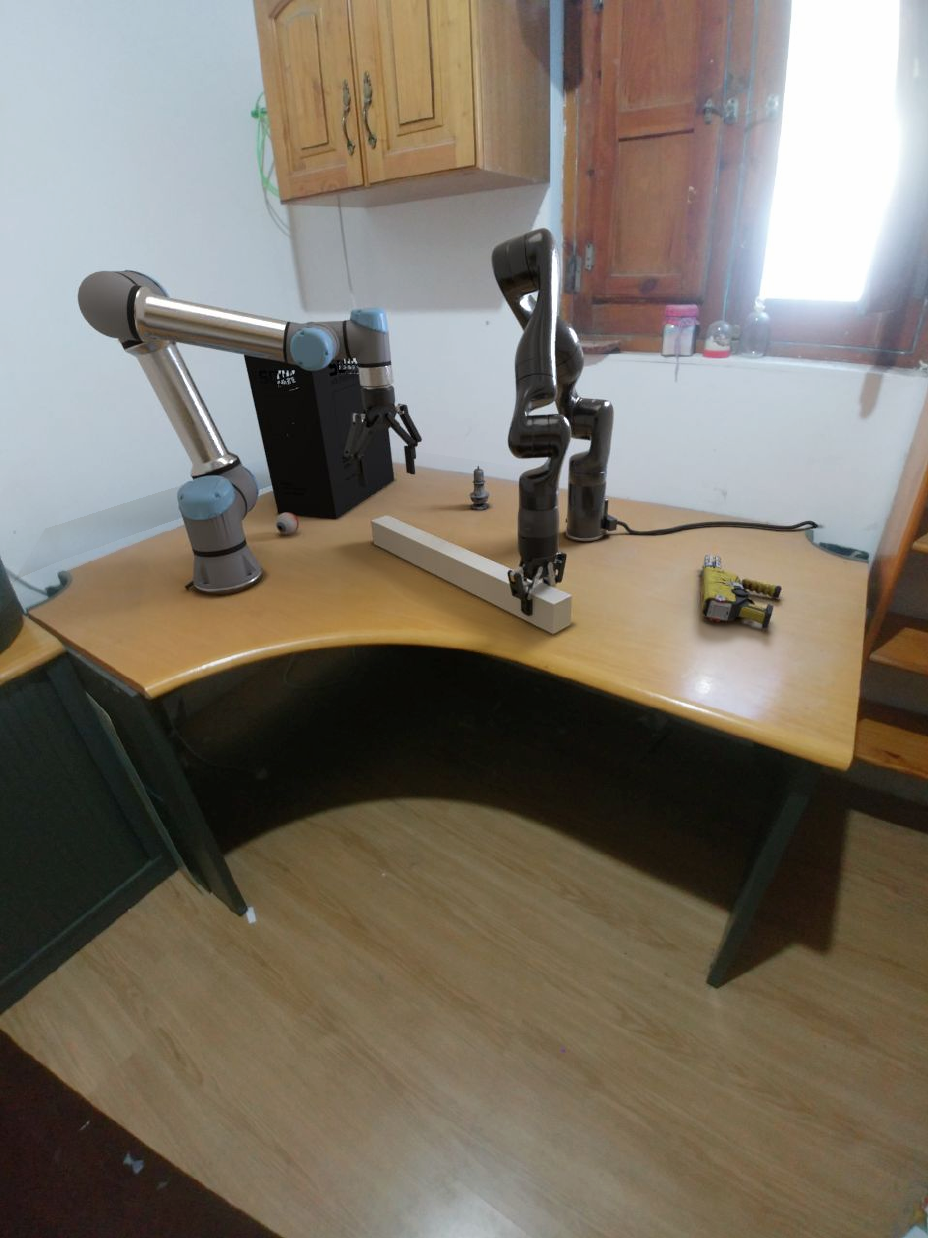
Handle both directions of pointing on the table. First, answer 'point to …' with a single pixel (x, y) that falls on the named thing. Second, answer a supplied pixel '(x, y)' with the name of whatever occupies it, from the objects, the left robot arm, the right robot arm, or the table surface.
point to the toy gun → (732, 595)
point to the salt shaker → (479, 491)
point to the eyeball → (287, 523)
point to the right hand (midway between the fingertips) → (537, 609)
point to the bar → (471, 572)
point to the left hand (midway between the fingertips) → (387, 479)
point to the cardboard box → (314, 436)
